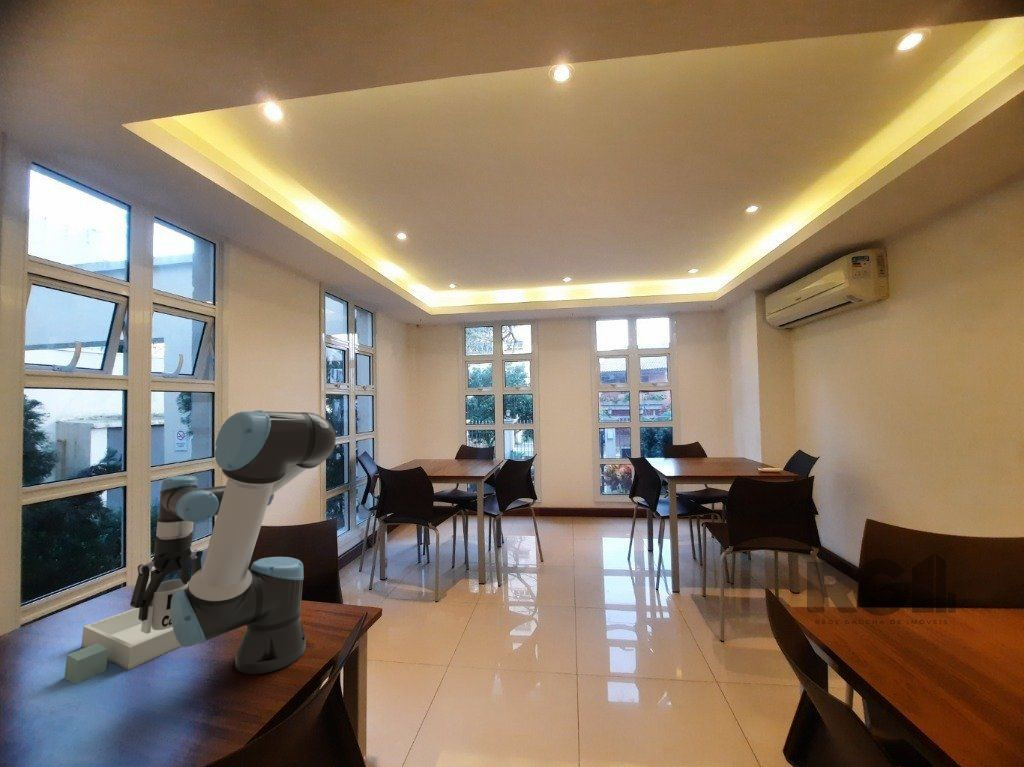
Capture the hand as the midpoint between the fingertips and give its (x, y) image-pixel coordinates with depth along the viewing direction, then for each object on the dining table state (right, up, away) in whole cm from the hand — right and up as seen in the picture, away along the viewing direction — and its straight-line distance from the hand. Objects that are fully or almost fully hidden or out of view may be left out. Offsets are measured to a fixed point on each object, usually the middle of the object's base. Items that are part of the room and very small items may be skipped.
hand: (165, 623), depth 103 cm
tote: (-5, -4, +1) cm, 7 cm away
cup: (0, 0, 0) cm, 0 cm away
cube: (-6, -3, -13) cm, 15 cm away
